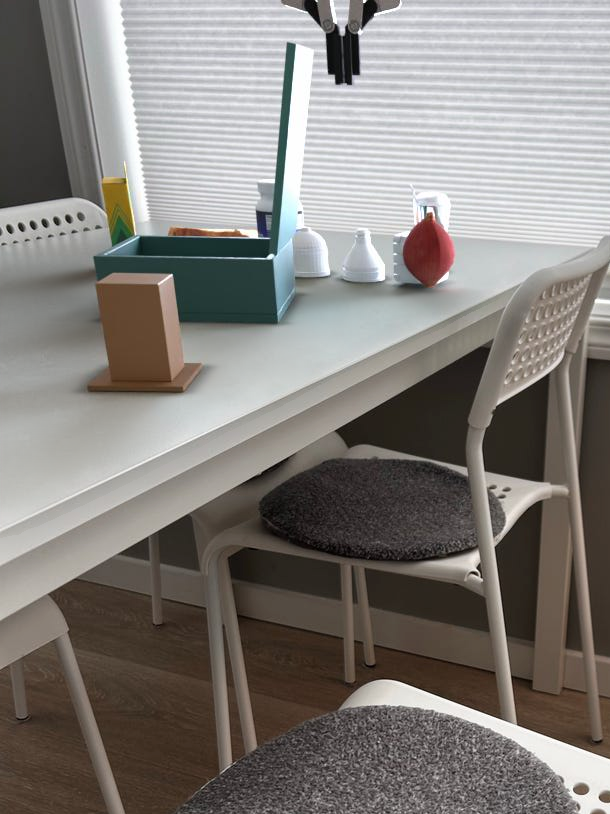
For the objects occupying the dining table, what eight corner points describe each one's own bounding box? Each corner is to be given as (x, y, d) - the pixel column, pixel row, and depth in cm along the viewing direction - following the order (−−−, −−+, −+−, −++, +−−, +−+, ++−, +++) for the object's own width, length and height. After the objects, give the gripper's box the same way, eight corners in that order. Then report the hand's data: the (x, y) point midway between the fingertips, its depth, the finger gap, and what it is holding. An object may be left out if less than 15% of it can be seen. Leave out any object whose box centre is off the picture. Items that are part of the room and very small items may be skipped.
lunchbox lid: (286, 41, 80) (296, 44, 80) (305, 48, 93) (313, 50, 93) (268, 253, 88) (277, 255, 89) (288, 232, 101) (295, 234, 101)
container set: (448, 281, 114) (449, 232, 111) (433, 289, 109) (433, 237, 107) (299, 269, 119) (296, 221, 116) (279, 275, 115) (275, 226, 112)
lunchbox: (103, 320, 91) (92, 256, 88) (142, 292, 103) (134, 234, 100) (278, 323, 92) (273, 259, 89) (296, 294, 104) (292, 238, 101)
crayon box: (115, 263, 119) (99, 160, 113) (140, 262, 120) (125, 160, 114) (115, 272, 113) (97, 164, 107) (141, 272, 114) (125, 164, 108)
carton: (111, 381, 71) (94, 283, 68) (127, 366, 75) (112, 272, 72) (171, 382, 71) (158, 284, 68) (185, 366, 75) (172, 273, 72)
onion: (393, 288, 107) (392, 211, 103) (420, 281, 112) (419, 207, 108) (437, 294, 105) (438, 215, 101) (463, 286, 110) (464, 211, 106)
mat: (87, 390, 70) (86, 385, 70) (114, 366, 76) (113, 361, 76) (183, 391, 71) (182, 386, 70) (202, 368, 77) (201, 362, 76)
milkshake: (401, 271, 119) (399, 183, 114) (434, 267, 123) (434, 182, 117) (422, 276, 116) (422, 186, 111) (456, 272, 120) (457, 185, 114)
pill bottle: (262, 264, 121) (255, 178, 116) (308, 265, 121) (302, 178, 116) (258, 272, 116) (250, 182, 111) (306, 272, 116) (300, 182, 111)
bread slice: (168, 242, 135) (164, 214, 133) (296, 242, 138) (294, 214, 136) (155, 263, 120) (150, 231, 118) (298, 262, 123) (296, 231, 121)
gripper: (423, -157, 83) (425, 86, 92) (250, -163, 82) (269, 83, 91) (423, -177, 76) (425, 87, 85) (235, -184, 75) (257, 83, 85)
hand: (344, 84), depth 88 cm, fingers closed
